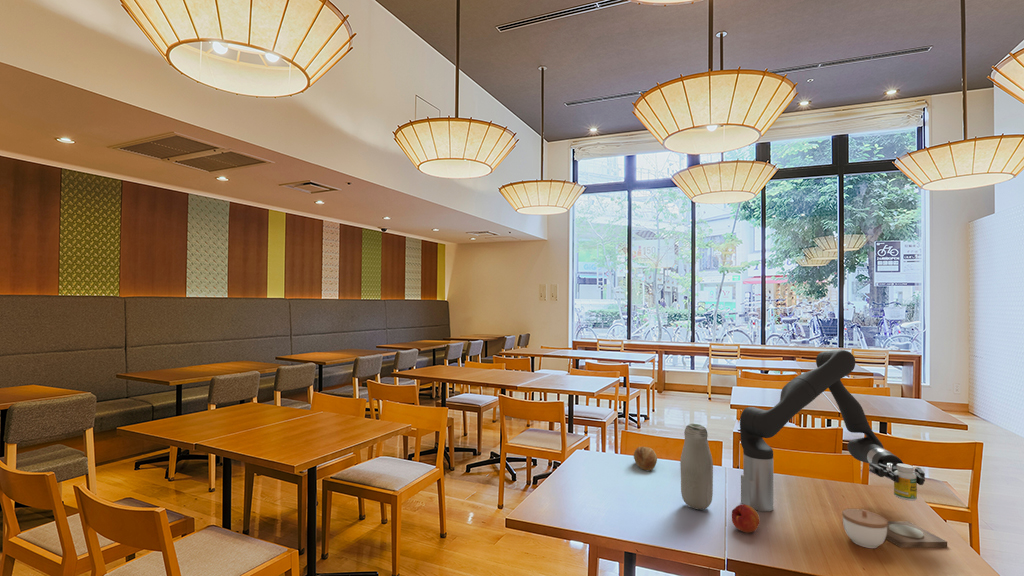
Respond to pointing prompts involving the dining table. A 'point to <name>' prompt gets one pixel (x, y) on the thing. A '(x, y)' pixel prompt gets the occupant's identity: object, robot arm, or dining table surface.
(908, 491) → the supplement bottle
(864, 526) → the lidded jar
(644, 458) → the bread roll
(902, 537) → the serving board
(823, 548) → the dining table surface
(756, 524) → the fruit
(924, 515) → the dining table surface
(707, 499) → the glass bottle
